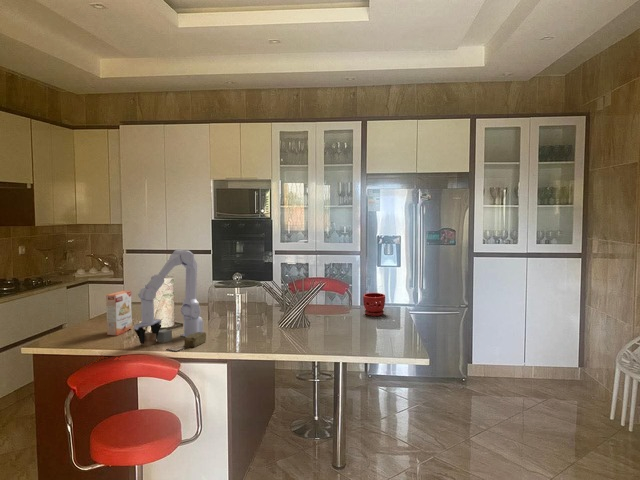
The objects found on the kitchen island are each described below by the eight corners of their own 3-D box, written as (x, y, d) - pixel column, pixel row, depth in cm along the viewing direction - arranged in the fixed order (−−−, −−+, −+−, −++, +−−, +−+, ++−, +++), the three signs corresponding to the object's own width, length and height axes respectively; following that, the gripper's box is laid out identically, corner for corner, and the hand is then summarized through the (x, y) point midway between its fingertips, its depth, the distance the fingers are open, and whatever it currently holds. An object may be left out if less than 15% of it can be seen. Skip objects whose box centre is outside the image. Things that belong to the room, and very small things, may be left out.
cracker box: (117, 336, 253) (115, 295, 252) (106, 335, 254) (105, 294, 253) (132, 329, 267) (131, 290, 265) (122, 328, 268) (121, 290, 267)
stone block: (207, 342, 242) (206, 331, 242) (193, 348, 231) (193, 338, 231) (196, 341, 244) (196, 330, 243) (183, 347, 233) (182, 337, 233)
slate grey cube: (164, 339, 247) (164, 329, 247) (172, 340, 245) (171, 330, 244) (156, 341, 243) (156, 331, 243) (164, 342, 240) (163, 332, 240)
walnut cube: (149, 342, 241) (148, 332, 241) (156, 343, 239) (156, 333, 239) (140, 345, 237) (140, 334, 237) (147, 346, 235) (147, 336, 234)
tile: (176, 346, 234) (176, 345, 234) (186, 348, 230) (186, 347, 230) (166, 350, 228) (166, 348, 228) (176, 352, 225) (176, 350, 225)
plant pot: (359, 313, 302) (359, 293, 302) (377, 311, 308) (377, 292, 307) (370, 317, 291) (370, 297, 290) (389, 315, 296) (389, 295, 295)
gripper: (153, 309, 245) (154, 336, 246) (129, 315, 233) (130, 343, 234) (164, 310, 242) (164, 338, 243) (139, 316, 229) (140, 345, 230)
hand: (148, 341), depth 238 cm, fingers open, 7 cm apart
